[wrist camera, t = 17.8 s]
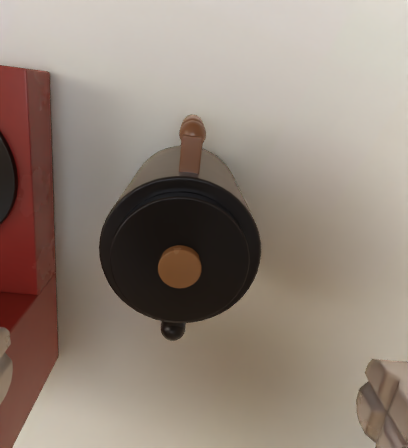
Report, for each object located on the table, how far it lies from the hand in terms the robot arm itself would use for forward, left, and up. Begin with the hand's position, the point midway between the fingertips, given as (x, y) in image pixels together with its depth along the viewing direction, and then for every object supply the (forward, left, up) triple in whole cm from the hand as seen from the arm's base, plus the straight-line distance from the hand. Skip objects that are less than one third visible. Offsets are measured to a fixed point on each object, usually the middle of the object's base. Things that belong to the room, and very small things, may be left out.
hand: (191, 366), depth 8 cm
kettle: (0, -1, -12) cm, 12 cm away
